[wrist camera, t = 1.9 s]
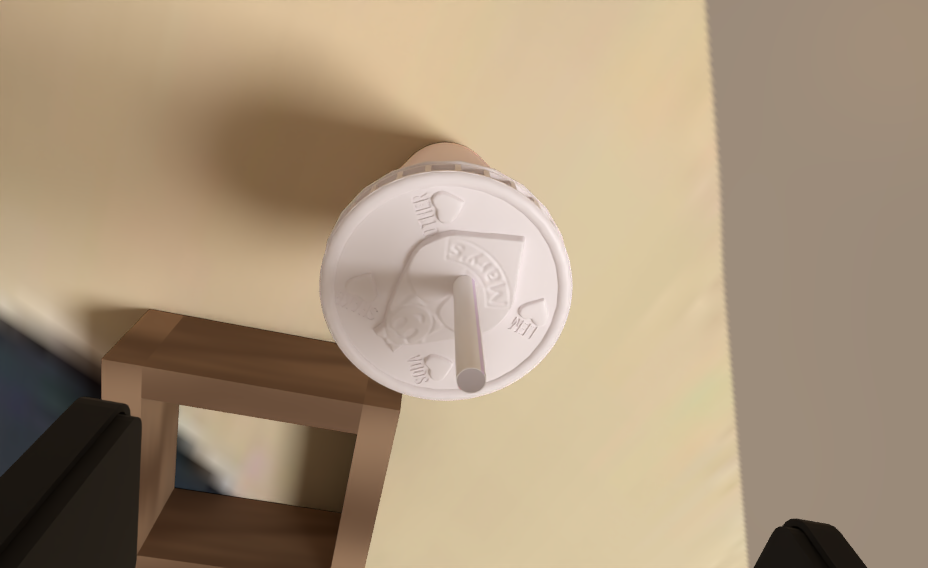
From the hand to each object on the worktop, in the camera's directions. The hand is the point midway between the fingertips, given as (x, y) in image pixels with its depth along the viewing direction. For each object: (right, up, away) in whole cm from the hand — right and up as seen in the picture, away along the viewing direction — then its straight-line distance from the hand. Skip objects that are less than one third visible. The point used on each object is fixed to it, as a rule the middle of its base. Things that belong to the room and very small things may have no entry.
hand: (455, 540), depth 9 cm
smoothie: (-1, +7, +15) cm, 17 cm away
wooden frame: (-9, -3, +20) cm, 22 cm away
